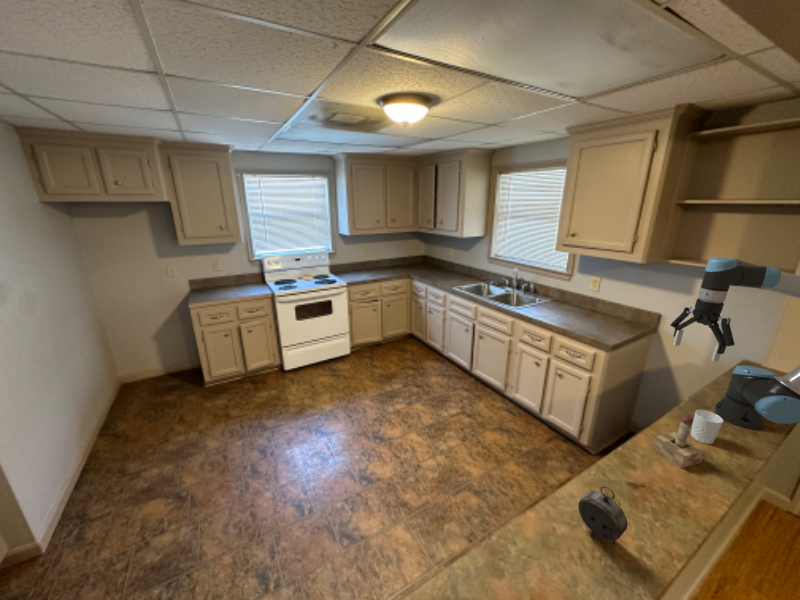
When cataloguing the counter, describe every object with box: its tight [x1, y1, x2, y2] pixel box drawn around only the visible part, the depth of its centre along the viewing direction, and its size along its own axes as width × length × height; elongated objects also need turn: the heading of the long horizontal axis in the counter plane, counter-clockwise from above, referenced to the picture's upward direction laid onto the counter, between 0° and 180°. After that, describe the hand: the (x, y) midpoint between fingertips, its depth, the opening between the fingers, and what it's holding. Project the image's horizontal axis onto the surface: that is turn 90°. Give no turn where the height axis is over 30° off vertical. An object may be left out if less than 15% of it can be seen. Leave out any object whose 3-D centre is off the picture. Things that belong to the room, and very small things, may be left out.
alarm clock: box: [577, 485, 628, 546], centre depth 89 cm, size 11×5×16 cm, turn 34°
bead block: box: [652, 431, 706, 469], centre depth 119 cm, size 10×10×5 cm
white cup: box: [690, 409, 724, 445], centre depth 127 cm, size 8×8×10 cm
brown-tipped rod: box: [674, 414, 694, 449], centre depth 117 cm, size 3×3×16 cm
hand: (694, 352), depth 128 cm, fingers open, 13 cm apart
